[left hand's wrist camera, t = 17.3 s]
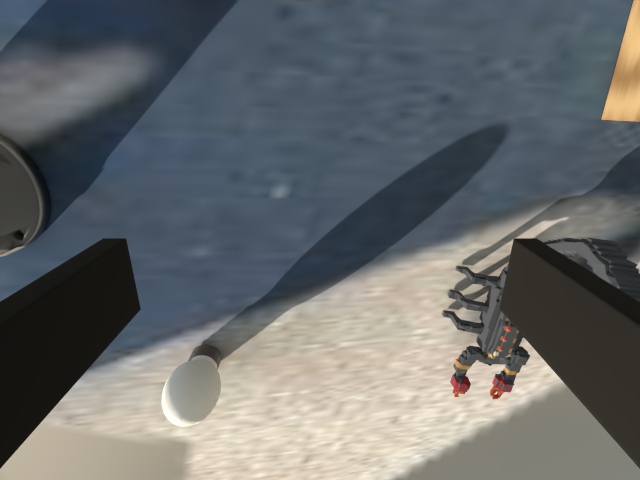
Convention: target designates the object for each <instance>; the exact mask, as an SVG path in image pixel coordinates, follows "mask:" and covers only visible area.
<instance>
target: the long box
mask: <svg viewBox="0 0 640 480" xmlns="http://www.w3.org/2000/svg"><path fill="white" fill-rule="evenodd" d="M602 120H619V121H640V0H634V1H633V5H632V8H631V12H630V16H629V19H628V23H627V27H626V31H625V34H624V38H623V42H622V45H621V49H620V53H619V56H618V60H617V64H616V67H615V71H614V75H613V78H612V82H611V86H610V90H609V93H608V97H607V101H606V104H605V108H604V112H603V115H602Z"/></svg>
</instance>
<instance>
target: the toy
mask: <svg viewBox="0 0 640 480" xmlns="http://www.w3.org/2000/svg"><path fill="white" fill-rule="evenodd" d="M545 244H546V245H548V246H549V247H551V248H553V249H554V250H556V251H558V252H559V253H561V254H562V255H564V256H566V257H567V258H569V259H571V260H572V259H574V258H579V259H580V258H585V259H586V260H588V262H587V264H589V265H590V266H592V268H593V272H595V273H596V274H597V276H598V277H600V278H602V279H603V280H605V281H606V282H608V283H610V284H611V285H613V286H615V287H616V288H618V289H620V290H621V291H623V292H624V293H626V294H628V295H629V296H631V297H633V298H634V299H636V300H637V301H639V302H640V274H639V272H638V269H636V266H637V264H635V263H633V262H631V261H629V260H627V259H626V258H627V255H625V254H624V253H623V252H622V251H621V249H619V248H617V247H616V244H617V243H615V242H613V241H607V240H600V239H593V238H587V239H581V240H579V239H572V238H565V239H561V240H560V239H557V240H552V241H549V240H548V242H545ZM508 265H509V264H508ZM508 265H507V267H505V268H504V269H503V271H502V272H501V274H500V276H499V277H497V276H486V275H481V274H476V273H473V272H472V271H471V270H470V269H469V268H468V267H461V266H457V267H456V270H457V271H459V272H461V273H464V274H465V275H466V276H467V277H468V278H469V279H470V280H471V282H472V283H473V284H481V285H483V286H490V290H489V292H488V295H487V300H486V302H485V303H483V302H478V301H472V300H468V299H465V298H464V297H463V295H462V294H461V293H460V292H459V291H456V290H449V293H448V296H449V298H452V299H456V300H458V301H459V302H460V303H461V304H462V306H463V307H464V308H466V309H468V310H475V311H482V312H481V315H480V319H481V323H474V322H470V321H465V320H461V319H459V318H458V317H457V316H456V314H455V313H454V312H452V311H444V310H443V313H442V315H443V316H444V317H448V318H451V320H452V321H453V323H454V324H455V326H456V327H457V329H458V330H462V331H467V332H473V333H478V334H477V335H478V336H477V343H478V345H479V346H480V347H474V346H469V347H467V348H466V350H465V351H463V352H462V354H461V355H460V357H459V358H458V359H456V360H455V363H454V368H455V370H456V373H455V374H453V376H452V379H451V381H450V382H451V384H452V385H453V387H454V389H453V393H455V397H458V394H459V393H460V394H465V392H467V390H468V389H469V387H470V385H471V384H470V381H469V379H468V377H466V376H465V375H466V372H467V370H468V369H469V368H470V367H471V365H472V364H473V363H474V362H475V361H476V360H479V361H480V362H483V363H485V364H488V365H490V366H491V365H492V364H506V366H505V368H504V371H501V373H500V374H496V375H495V377H494V380H493V388H492V389H491V390H490V395H491V396H492V397H493V399H498V398H500V396H501V395H502V394H503V393H504V392H511V390H512V387H513V385H514V380H515V377H516V374H517V373H519V371H520V369H521V367H522V365H526V362H527V361H528V359H529V357H530V355H529V354H528V352H527V351H526V350H525V349H524V348H523V347H520V346H519V345H520V342H521V340H522V338H523V335H522V334H521V333H520V332H519V331H518V330H517V329H516V327H515V326H514V325H513V324H512V323H511V322H510V321H509V320H508V318H507V317H506V316H505V315H504V314H503V313H502V312H501V310H500V304H501V299H502V294H503V289H504V284H505V280H506V275H507V270H508ZM496 391H498V393H497V394H496V395H494V393H495V392H496Z"/></svg>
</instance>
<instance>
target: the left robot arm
mask: <svg viewBox="0 0 640 480" xmlns="http://www.w3.org/2000/svg"><path fill="white" fill-rule="evenodd" d="M49 213H50V201H49V195H48V190H47V187H46V184H45V182H44V180H43V177H42V176H41V174H40V172H39V170H38V169H37V167H36V166H35V164H34V163H33V162H32V160H31V159H30V158H29V157H28V156H27V155H26V154H25V153H24V152H23V151H22V150H21V149H20V148H19V147H18V146H17V145H16V144H14V143H13V142H12V141H10V140H9V139H7V138H6V137H4V136H2V135H1V134H0V257H1V256H6V255H8V254H10V253H12V252H15V251H17V250H19V249H21V248H23V247H26V245H28V244H30V243H32V242H33V241H35V240H36V239H37V238H38V237H39V236H40V235H41V233H42V232H43V230H44V229H45V227H46V225H47V222H48V219H49ZM139 310H140V304H139V299H138V294H137V289H136V284H135V280H134V275H133V270H132V265H131V260H130V255H129V251H128V246H127V241H126V239H102V240H100V241H99V242H97V243H95V244H94V245H92V246H91V247H89V248H87V249H86V250H84V251H82V252H81V253H79V254H78V255H76V256H74V257H73V258H71V259H69V260H68V261H66V262H64V263H63V264H61V265H60V266H58V267H56V268H55V269H53V270H51V271H50V272H48V273H47V274H45V275H43V276H42V277H40V278H38V279H37V280H35V281H34V282H32V283H30V284H29V285H27V286H25V287H24V288H22V289H20V290H19V291H17V292H16V293H14V294H12V295H11V296H9V297H7V298H6V299H4V300H3V301H1V302H0V468H1V467H2V466H3V465H4V464H5V462H6V461H7V460H8V459H9V458H10V457H11V456H12V455H13V453H14V452H15V451H16V450H17V449H18V448H19V447H20V445H21V444H22V443H23V442H24V441H25V440H26V439H27V438H28V436H29V435H30V434H31V433H32V432H33V431H34V430H35V428H36V427H37V426H38V425H39V424H40V423H41V422H42V421H43V419H44V418H45V417H46V416H47V415H48V414H49V413H50V411H51V410H52V409H53V408H54V407H55V406H56V405H57V404H58V402H59V401H60V400H61V399H62V398H63V397H64V396H65V394H66V393H67V392H68V391H69V390H70V389H71V388H72V386H73V385H74V384H75V383H76V382H77V381H78V380H79V379H80V377H81V376H82V375H83V374H84V373H85V372H86V371H87V369H88V368H89V367H90V366H91V365H92V364H93V363H94V362H95V360H96V359H97V358H98V357H99V356H100V355H101V354H102V352H103V351H104V350H105V349H106V348H107V347H108V346H109V345H110V343H111V342H112V341H113V340H114V339H115V338H116V337H117V335H118V334H119V333H120V332H121V331H122V330H123V329H124V327H125V326H126V325H127V324H128V323H129V322H130V321H131V320H132V318H133V317H134V316H135V315H136V314H137V313H138V312H139ZM500 310H501V312H502V313H503V314H504V315H505V316H506V317H507V318H508V320H509V321H510V322H511V323H512V324H513V325H514V326H515V327H516V329H517V330H518V331H519V332H520V333H521V334H522V335H523V337H524V338H525V339H526V340H527V341H528V342H529V343H530V345H531V346H532V347H533V348H534V349H535V350H536V351H537V352H538V354H539V355H540V356H541V357H542V358H543V359H544V360H545V362H546V363H547V364H548V365H549V366H550V367H551V368H552V369H553V371H554V372H555V373H556V374H557V375H558V376H559V377H560V379H561V380H562V381H563V382H564V383H565V384H566V385H567V386H568V388H569V389H570V390H571V391H572V392H573V393H574V394H575V396H576V397H577V398H578V399H579V400H580V401H581V402H582V403H583V405H584V406H585V407H586V408H587V409H588V410H589V411H590V413H591V414H592V415H593V416H594V417H595V418H596V419H597V421H598V422H599V423H600V424H601V425H602V426H603V427H604V428H605V430H606V431H607V432H608V433H609V434H610V435H611V436H612V438H613V439H614V440H615V441H616V442H617V443H618V444H619V445H620V447H621V448H622V449H623V450H624V451H625V452H626V453H627V455H628V456H629V457H630V458H631V459H632V460H633V461H634V463H635V464H636V465H637V466H638V467H639V468H640V302H639V301H637V300H636V299H634V298H633V297H631V296H629V295H628V294H626V293H624V292H623V291H621V290H620V289H618V288H616V287H615V286H613V285H611V284H610V283H608V282H606V281H605V280H603V279H602V278H600V277H598V276H597V275H595V274H593V273H592V272H590V271H589V270H587V269H585V268H584V267H582V266H580V265H579V264H577V263H576V262H574V261H572V260H571V259H569V258H567V257H566V256H564V255H562V254H561V253H559V252H558V251H556V250H554V249H553V248H551V247H549V246H548V245H546V244H545V243H543V242H541V241H540V240H538V239H514V241H513V246H512V251H511V255H510V260H509V265H508V270H507V275H506V280H505V284H504V289H503V294H502V299H501V304H500Z"/></svg>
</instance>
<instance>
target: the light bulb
mask: <svg viewBox="0 0 640 480" xmlns="http://www.w3.org/2000/svg"><path fill="white" fill-rule="evenodd" d="M220 361H221V356H220V353H219V352H218V351H217V350H216V349H214V348H213V347H210V346H205V345H203V346H198V347H196V348H195V349H194V350H193V352H192V354H191V356H190V358H189V360H188V361H187V362H185V363H184V364H182V365H180V366H179V367H178V368H177V369H176V370H175V371H174V372H173V373H172V374H171V375H170V377H169V378H168V380H167V382H166V384H165V386H164V389H163V393H162V408H163V411H164V414H165V416H166V417H167V418H168V420H169V421H170V422H172V423H173V424H175V425H178V426H191V425H194V424H197V423H198V422H200V421H202V420H203V419H204V418H206V417H207V416H208V415H209V414H210V413H211V411H212V410H213V408H214V407H215V405H216V403H217V401H218V398H219V395H220V390H221V381H220V376H219V373H218V371H217V369H218V366H219V364H220Z"/></svg>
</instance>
